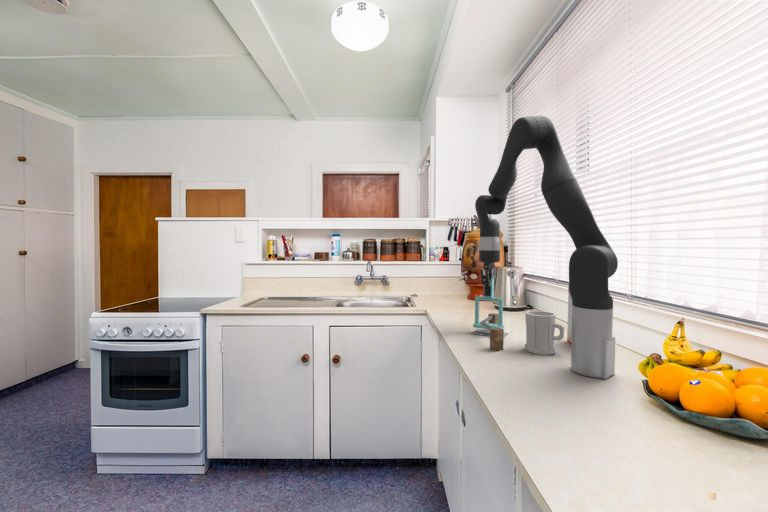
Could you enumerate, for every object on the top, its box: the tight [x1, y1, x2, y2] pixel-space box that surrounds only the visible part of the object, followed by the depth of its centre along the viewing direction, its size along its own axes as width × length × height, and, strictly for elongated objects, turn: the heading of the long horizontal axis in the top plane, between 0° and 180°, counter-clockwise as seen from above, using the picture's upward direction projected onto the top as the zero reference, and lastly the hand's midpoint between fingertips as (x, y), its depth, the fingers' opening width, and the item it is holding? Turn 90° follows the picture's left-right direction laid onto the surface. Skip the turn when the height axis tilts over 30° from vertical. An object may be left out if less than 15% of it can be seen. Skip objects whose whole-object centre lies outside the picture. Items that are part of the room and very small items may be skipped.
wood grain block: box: [487, 312, 505, 352], centre depth 125 cm, size 4×30×7 cm, turn 164°
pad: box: [471, 328, 509, 339], centre depth 132 cm, size 7×12×1 cm, turn 57°
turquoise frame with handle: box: [472, 279, 505, 330], centre depth 131 cm, size 5×10×18 cm, turn 58°
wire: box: [479, 315, 494, 329], centre depth 125 cm, size 6×26×1 cm, turn 164°
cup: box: [524, 310, 566, 356], centre depth 111 cm, size 10×9×12 cm
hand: (488, 295), depth 131 cm, fingers closed on turquoise frame with handle, 3 cm apart
